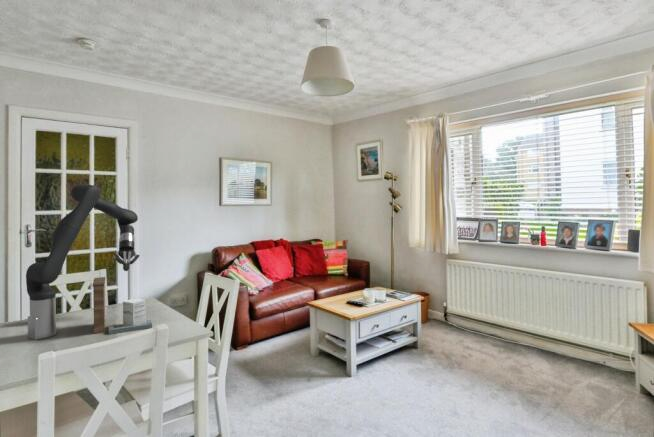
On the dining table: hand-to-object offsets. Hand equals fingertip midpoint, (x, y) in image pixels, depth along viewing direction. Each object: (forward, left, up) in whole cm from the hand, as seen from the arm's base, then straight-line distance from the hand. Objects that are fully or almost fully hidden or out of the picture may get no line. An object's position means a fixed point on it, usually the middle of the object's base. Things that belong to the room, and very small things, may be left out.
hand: (126, 270), depth 191 cm
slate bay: (-13, -20, -25) cm, 34 cm away
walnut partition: (-18, -6, -25) cm, 31 cm away
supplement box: (-8, -17, -25) cm, 32 cm away
